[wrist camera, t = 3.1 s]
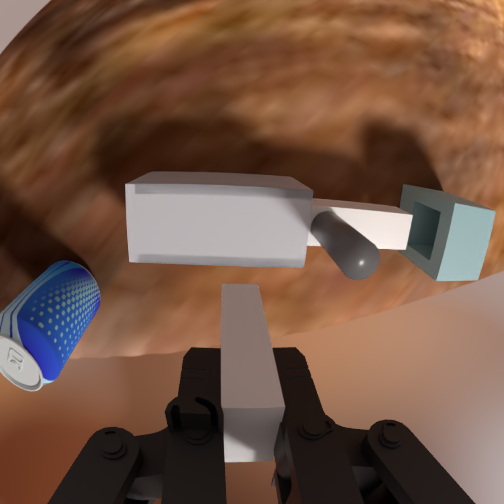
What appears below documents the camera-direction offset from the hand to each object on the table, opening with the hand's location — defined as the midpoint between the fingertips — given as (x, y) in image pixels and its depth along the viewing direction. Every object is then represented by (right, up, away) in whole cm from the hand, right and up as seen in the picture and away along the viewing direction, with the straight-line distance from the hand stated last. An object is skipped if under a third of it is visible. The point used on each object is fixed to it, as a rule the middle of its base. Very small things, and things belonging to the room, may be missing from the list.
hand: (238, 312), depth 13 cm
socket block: (+22, +7, +22) cm, 31 cm away
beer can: (-22, -2, +21) cm, 31 cm away
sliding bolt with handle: (+4, +6, +16) cm, 18 cm away
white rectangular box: (-2, +8, +19) cm, 21 cm away
